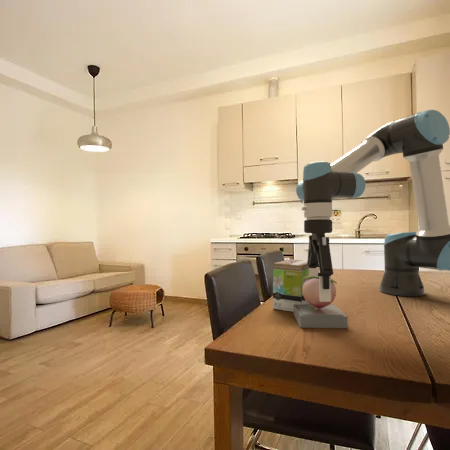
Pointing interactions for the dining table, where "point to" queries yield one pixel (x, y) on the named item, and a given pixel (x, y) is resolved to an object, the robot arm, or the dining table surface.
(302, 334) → the dining table surface
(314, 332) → the dining table surface
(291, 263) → the tea box
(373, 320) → the dining table surface
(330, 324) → the slate trivet
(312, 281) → the decorative fruit
